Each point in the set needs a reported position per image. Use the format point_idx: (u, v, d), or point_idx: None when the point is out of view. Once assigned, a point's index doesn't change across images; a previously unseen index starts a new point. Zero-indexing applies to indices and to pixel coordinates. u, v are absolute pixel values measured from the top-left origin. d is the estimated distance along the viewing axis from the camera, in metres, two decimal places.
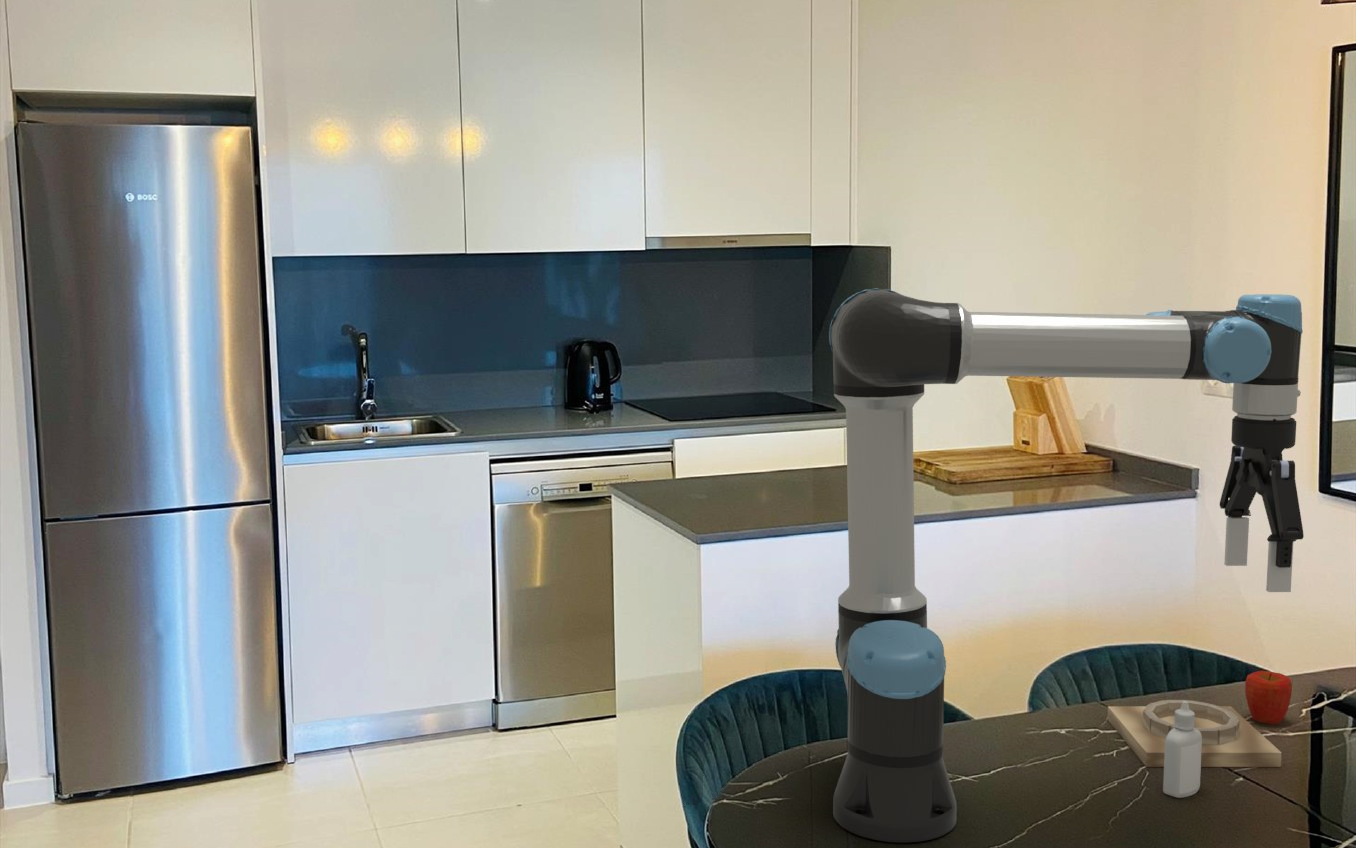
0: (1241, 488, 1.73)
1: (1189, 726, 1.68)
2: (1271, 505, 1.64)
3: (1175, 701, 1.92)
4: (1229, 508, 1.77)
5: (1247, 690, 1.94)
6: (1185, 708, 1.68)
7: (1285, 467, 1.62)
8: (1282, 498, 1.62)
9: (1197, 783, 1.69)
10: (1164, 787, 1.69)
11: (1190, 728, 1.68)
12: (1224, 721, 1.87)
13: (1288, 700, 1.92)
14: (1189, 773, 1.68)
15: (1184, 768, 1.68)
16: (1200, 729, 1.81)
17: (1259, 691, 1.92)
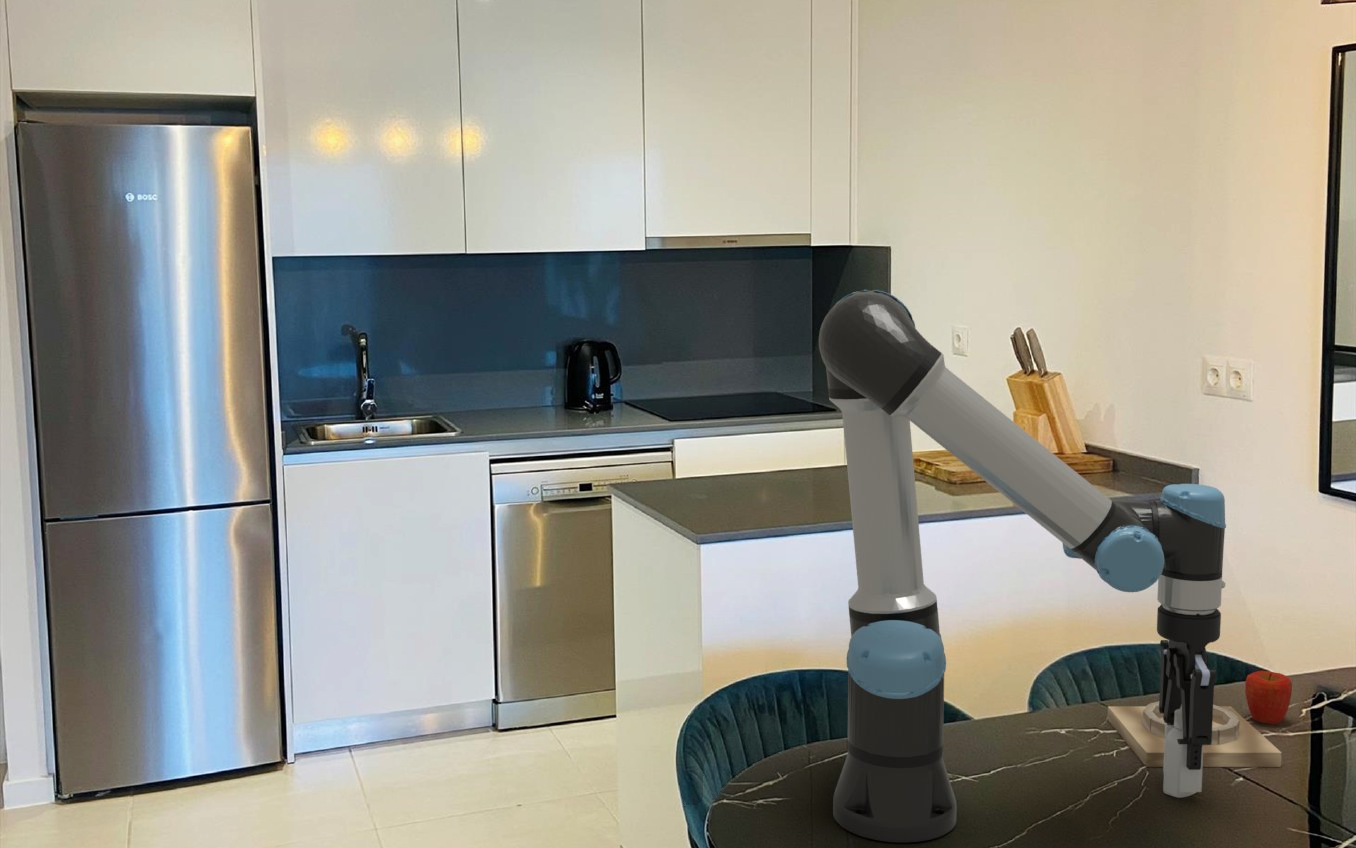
0: (1173, 684, 1.70)
1: None
2: (1187, 707, 1.65)
3: None
4: (1166, 712, 1.72)
5: (1247, 690, 1.94)
6: None
7: (1205, 679, 1.62)
8: (1197, 707, 1.63)
9: None
10: (1164, 787, 1.69)
11: None
12: (1224, 721, 1.87)
13: (1288, 700, 1.92)
14: None
15: None
16: None
17: (1259, 691, 1.92)
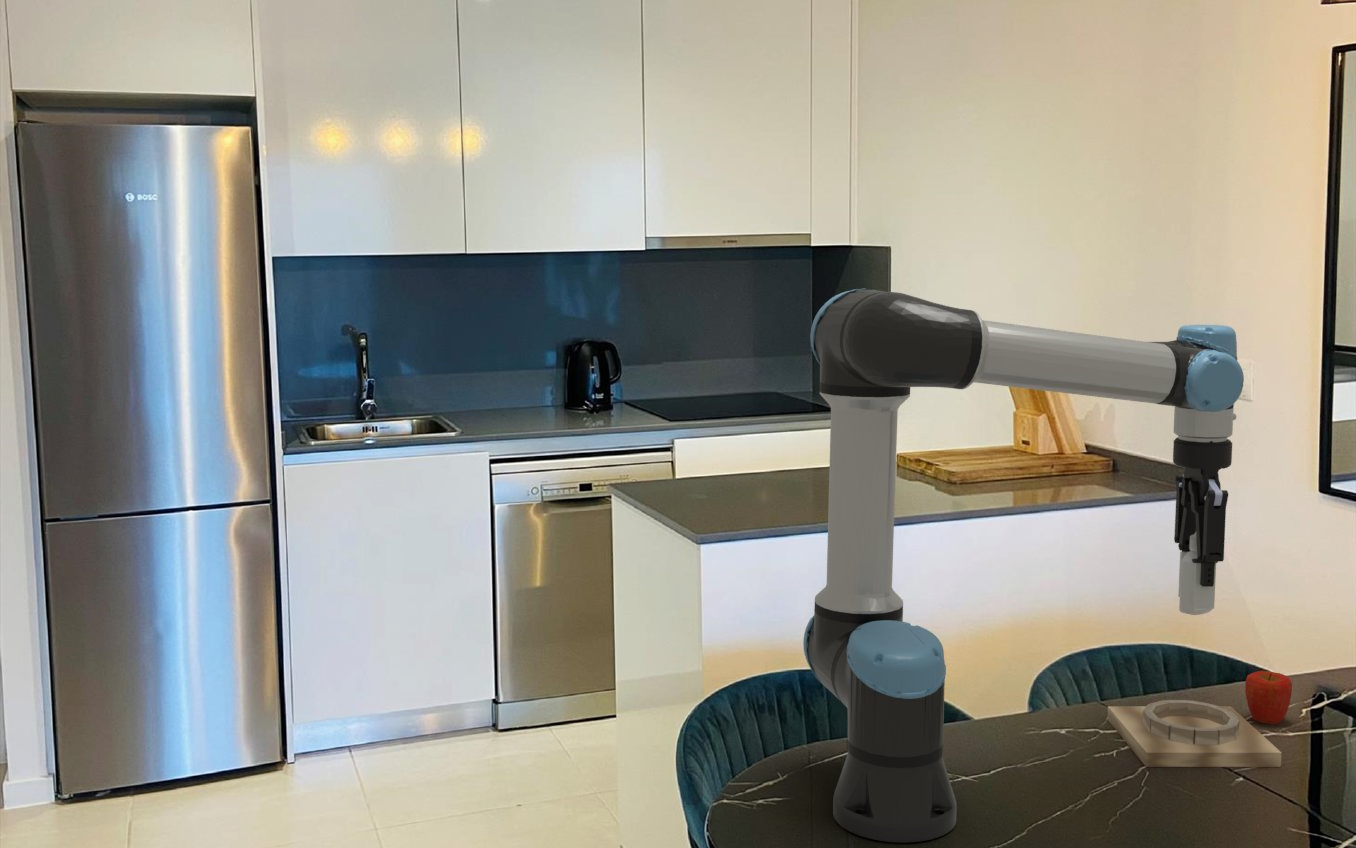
0: (1188, 512, 1.84)
1: None
2: (1201, 528, 1.79)
3: (1175, 701, 1.92)
4: (1181, 539, 1.86)
5: (1247, 690, 1.94)
6: None
7: (1218, 498, 1.76)
8: (1210, 525, 1.77)
9: None
10: (1180, 606, 1.83)
11: None
12: (1224, 721, 1.87)
13: (1288, 700, 1.92)
14: None
15: None
16: (1200, 729, 1.81)
17: (1259, 691, 1.92)
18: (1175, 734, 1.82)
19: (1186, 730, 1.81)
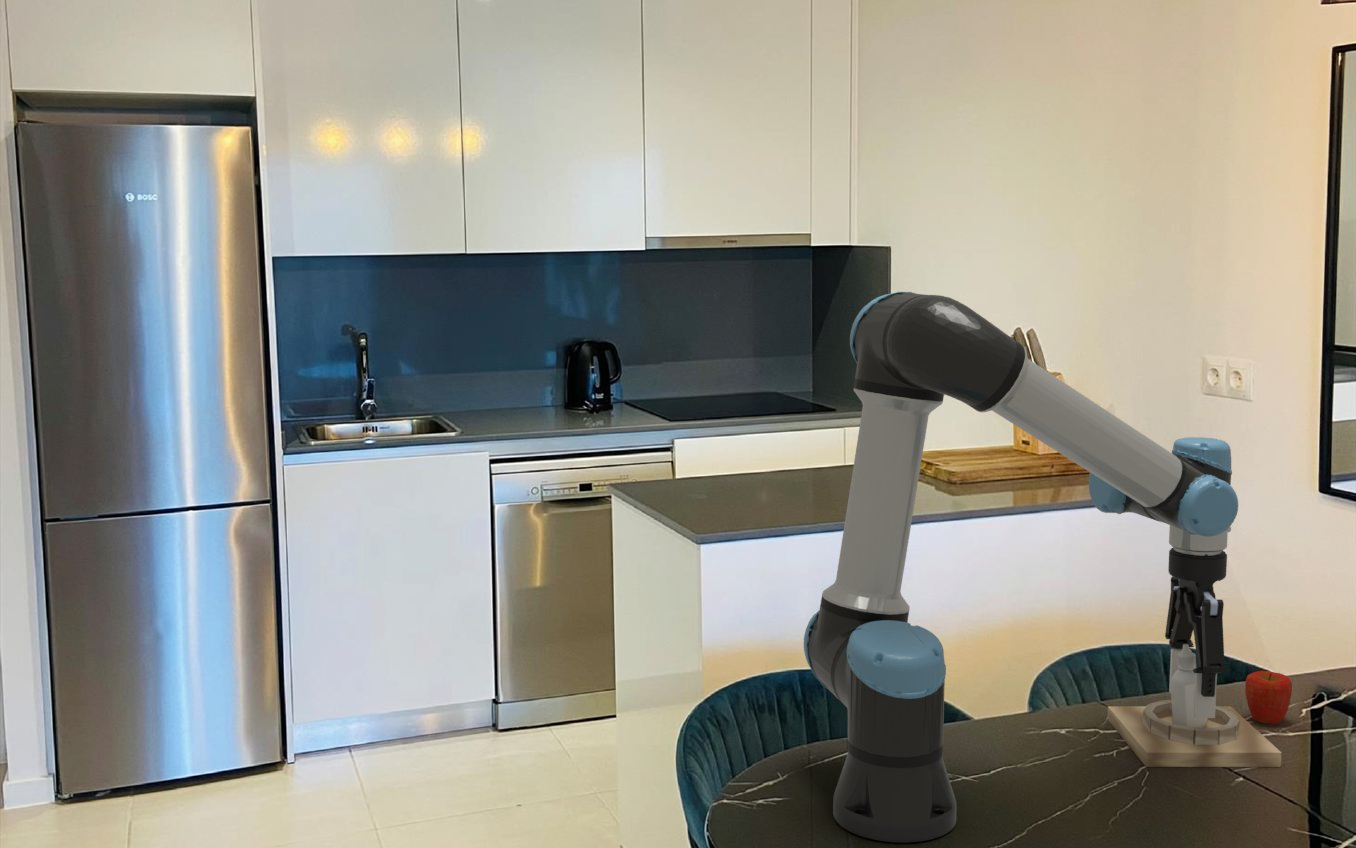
0: (1181, 617, 1.87)
1: (1191, 666, 1.84)
2: (1200, 638, 1.80)
3: None
4: (1173, 639, 1.90)
5: (1247, 690, 1.94)
6: (1186, 650, 1.85)
7: (1214, 607, 1.77)
8: (1209, 635, 1.77)
9: (1204, 718, 1.86)
10: None
11: (1192, 668, 1.84)
12: (1224, 721, 1.87)
13: (1288, 700, 1.92)
14: None
15: (1189, 704, 1.84)
16: (1200, 729, 1.81)
17: (1259, 691, 1.92)
18: (1175, 734, 1.82)
19: (1186, 730, 1.81)
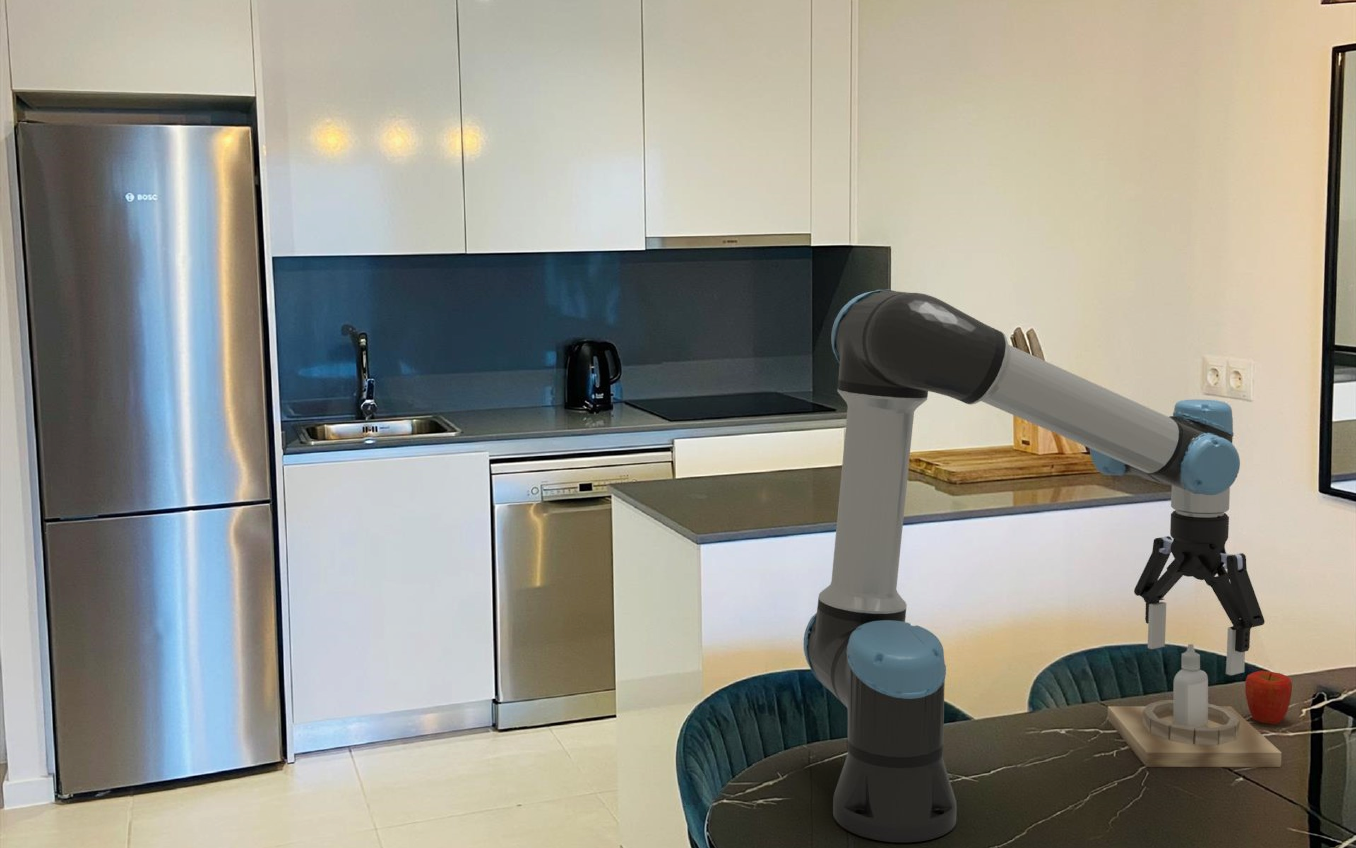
0: (1171, 578, 1.87)
1: (1195, 666, 1.85)
2: (1226, 595, 1.79)
3: None
4: (1152, 596, 1.90)
5: (1247, 690, 1.94)
6: (1190, 650, 1.85)
7: (1239, 561, 1.77)
8: (1243, 589, 1.76)
9: (1205, 720, 1.86)
10: (1174, 723, 1.86)
11: (1196, 668, 1.85)
12: (1224, 721, 1.87)
13: (1288, 700, 1.92)
14: (1197, 710, 1.84)
15: (1191, 704, 1.84)
16: (1200, 729, 1.81)
17: (1259, 691, 1.92)
18: (1175, 734, 1.82)
19: (1186, 730, 1.81)
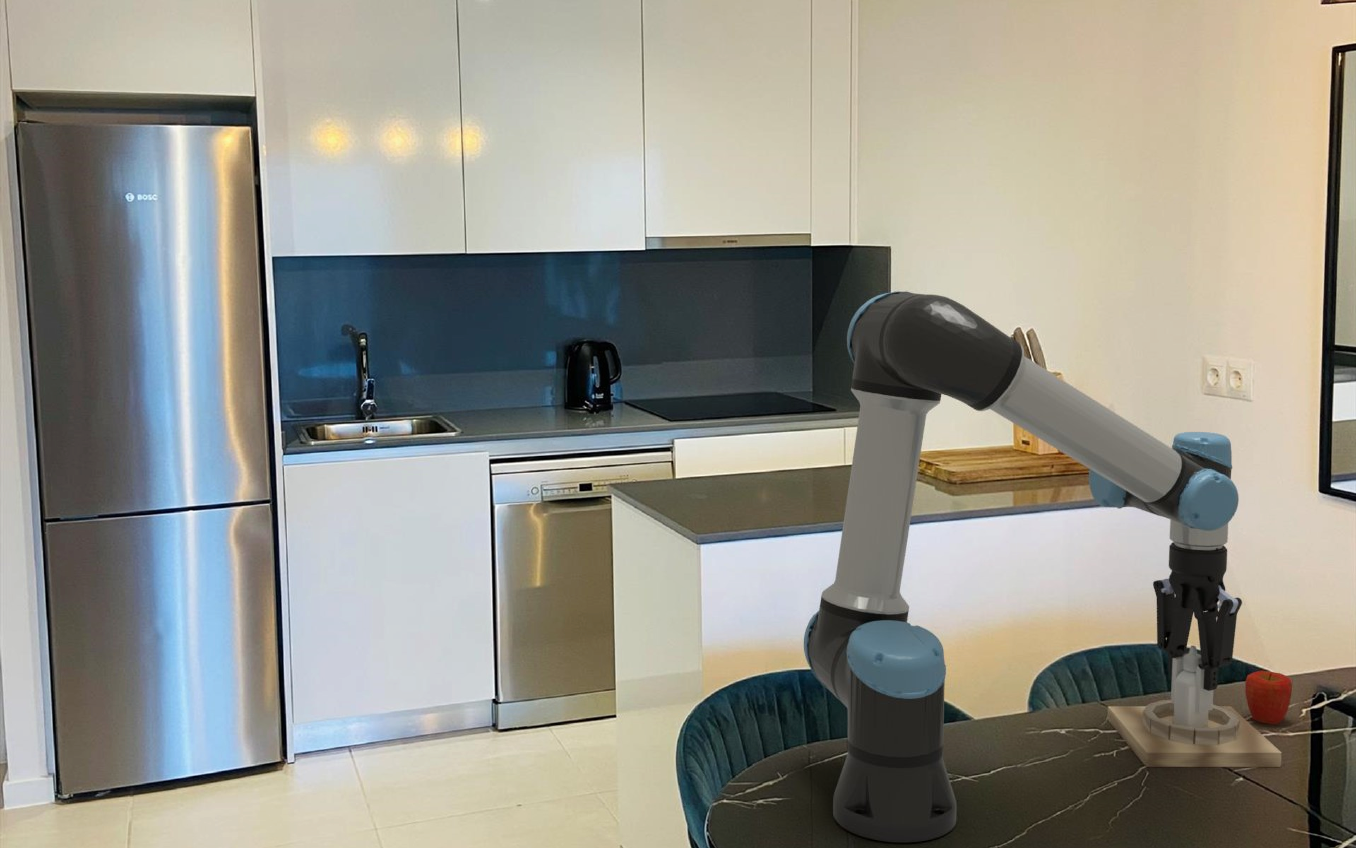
0: (1181, 617, 1.85)
1: None
2: (1207, 635, 1.82)
3: None
4: (1174, 646, 1.87)
5: (1247, 690, 1.94)
6: (1193, 652, 1.85)
7: (1234, 607, 1.78)
8: (1225, 633, 1.79)
9: (1205, 721, 1.86)
10: None
11: None
12: (1224, 721, 1.87)
13: (1288, 700, 1.92)
14: None
15: (1192, 706, 1.84)
16: (1200, 729, 1.81)
17: (1259, 691, 1.92)
18: (1175, 734, 1.82)
19: (1186, 730, 1.81)
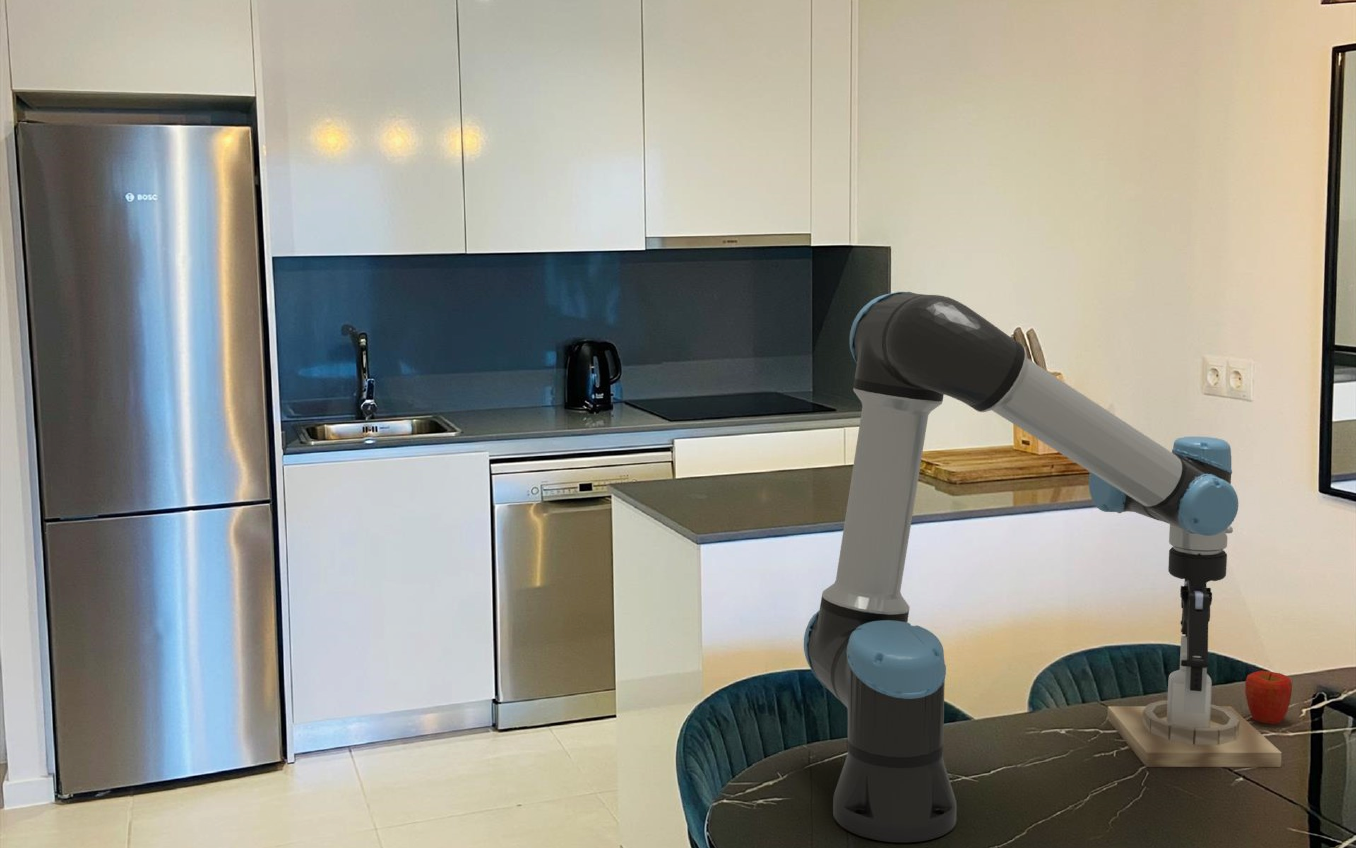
0: None
1: None
2: None
3: None
4: (1182, 627, 1.92)
5: (1247, 690, 1.94)
6: None
7: (1198, 600, 1.78)
8: (1193, 628, 1.77)
9: (1197, 723, 1.85)
10: None
11: None
12: (1224, 721, 1.87)
13: (1288, 700, 1.92)
14: None
15: (1176, 702, 1.85)
16: (1200, 729, 1.81)
17: (1259, 691, 1.92)
18: (1175, 734, 1.82)
19: (1186, 730, 1.81)
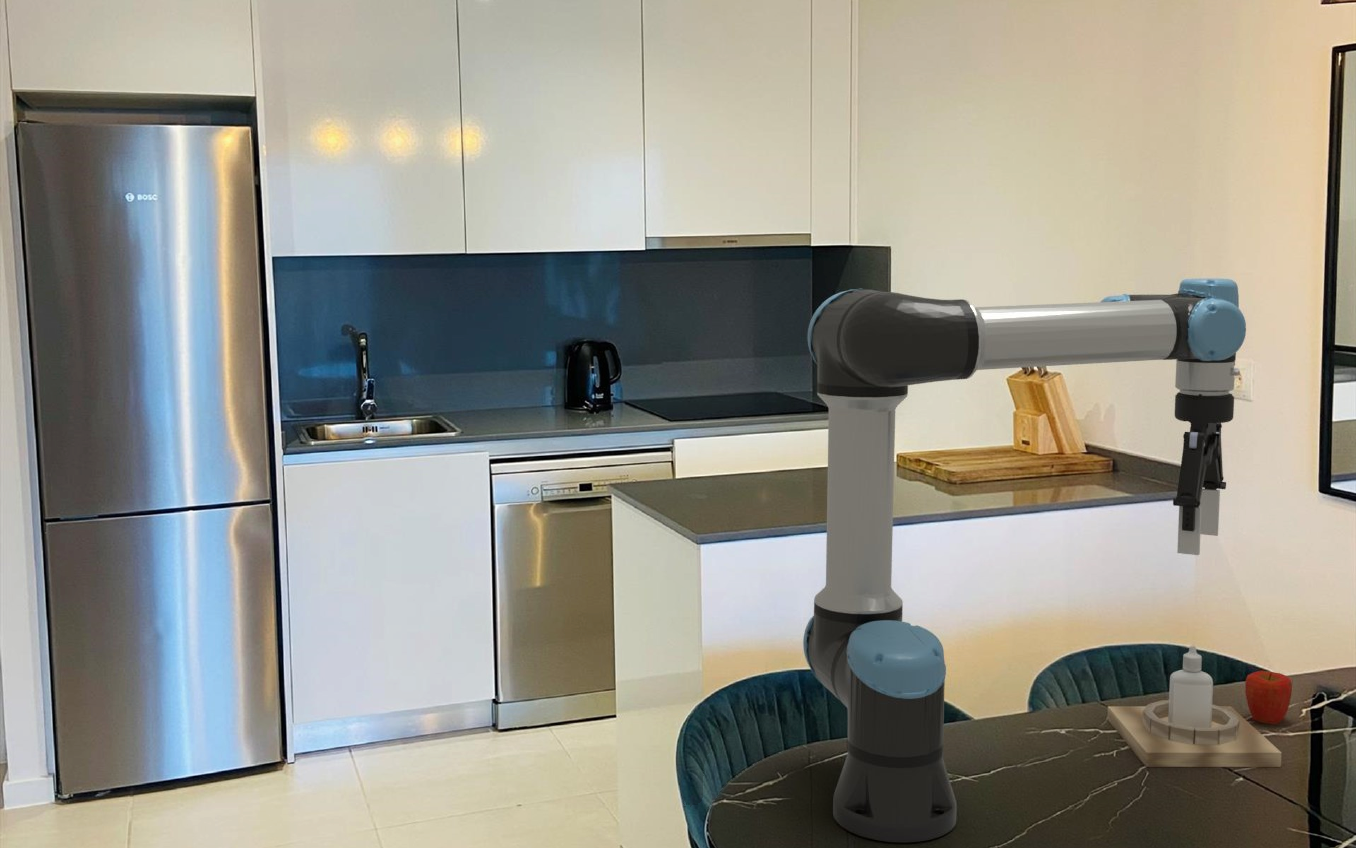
0: None
1: (1189, 667, 1.85)
2: None
3: None
4: None
5: (1247, 690, 1.94)
6: (1190, 651, 1.85)
7: (1193, 438, 1.75)
8: (1184, 466, 1.75)
9: (1198, 723, 1.85)
10: (1168, 718, 1.88)
11: (1190, 669, 1.85)
12: (1224, 721, 1.87)
13: (1288, 700, 1.92)
14: (1184, 710, 1.85)
15: (1177, 702, 1.85)
16: (1200, 729, 1.81)
17: (1259, 691, 1.92)
18: (1175, 734, 1.82)
19: (1186, 730, 1.81)
